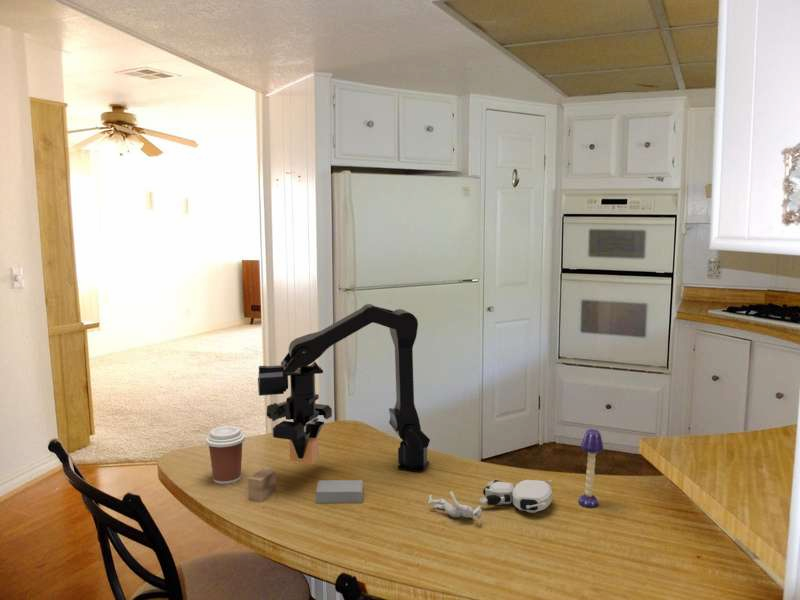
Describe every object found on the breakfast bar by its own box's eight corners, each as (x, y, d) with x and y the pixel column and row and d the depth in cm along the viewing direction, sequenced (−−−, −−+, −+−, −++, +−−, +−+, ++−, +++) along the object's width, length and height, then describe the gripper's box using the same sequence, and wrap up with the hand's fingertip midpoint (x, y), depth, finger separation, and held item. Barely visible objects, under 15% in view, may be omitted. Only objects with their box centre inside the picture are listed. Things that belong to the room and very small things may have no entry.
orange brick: (319, 458, 152) (318, 438, 151) (312, 463, 149) (311, 443, 148) (297, 455, 154) (296, 435, 153) (289, 460, 151) (289, 440, 150)
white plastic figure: (444, 506, 140) (492, 503, 133) (440, 528, 137) (489, 525, 130) (425, 490, 136) (473, 486, 129) (420, 512, 133) (470, 509, 126)
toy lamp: (602, 501, 139) (605, 429, 137) (599, 510, 135) (602, 435, 133) (580, 497, 141) (582, 426, 139) (576, 506, 137) (579, 432, 135)
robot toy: (477, 515, 135) (549, 521, 130) (476, 495, 135) (548, 500, 130) (489, 492, 147) (555, 496, 142) (488, 473, 146) (554, 477, 141)
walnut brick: (263, 488, 147) (262, 468, 146) (276, 491, 146) (275, 470, 145) (248, 499, 141) (247, 478, 141) (261, 502, 140) (261, 480, 140)
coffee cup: (216, 489, 146) (214, 440, 145) (201, 477, 153) (199, 429, 152) (253, 479, 152) (251, 431, 150) (236, 467, 159) (235, 421, 157)
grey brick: (363, 492, 145) (362, 480, 145) (361, 504, 140) (361, 491, 139) (319, 492, 145) (319, 480, 145) (316, 504, 139) (315, 491, 139)
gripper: (292, 379, 161) (294, 438, 163) (251, 399, 143) (253, 465, 145) (332, 383, 157) (333, 443, 159) (294, 404, 139) (296, 472, 141)
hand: (304, 455), depth 151 cm, fingers closed on orange brick, 3 cm apart
